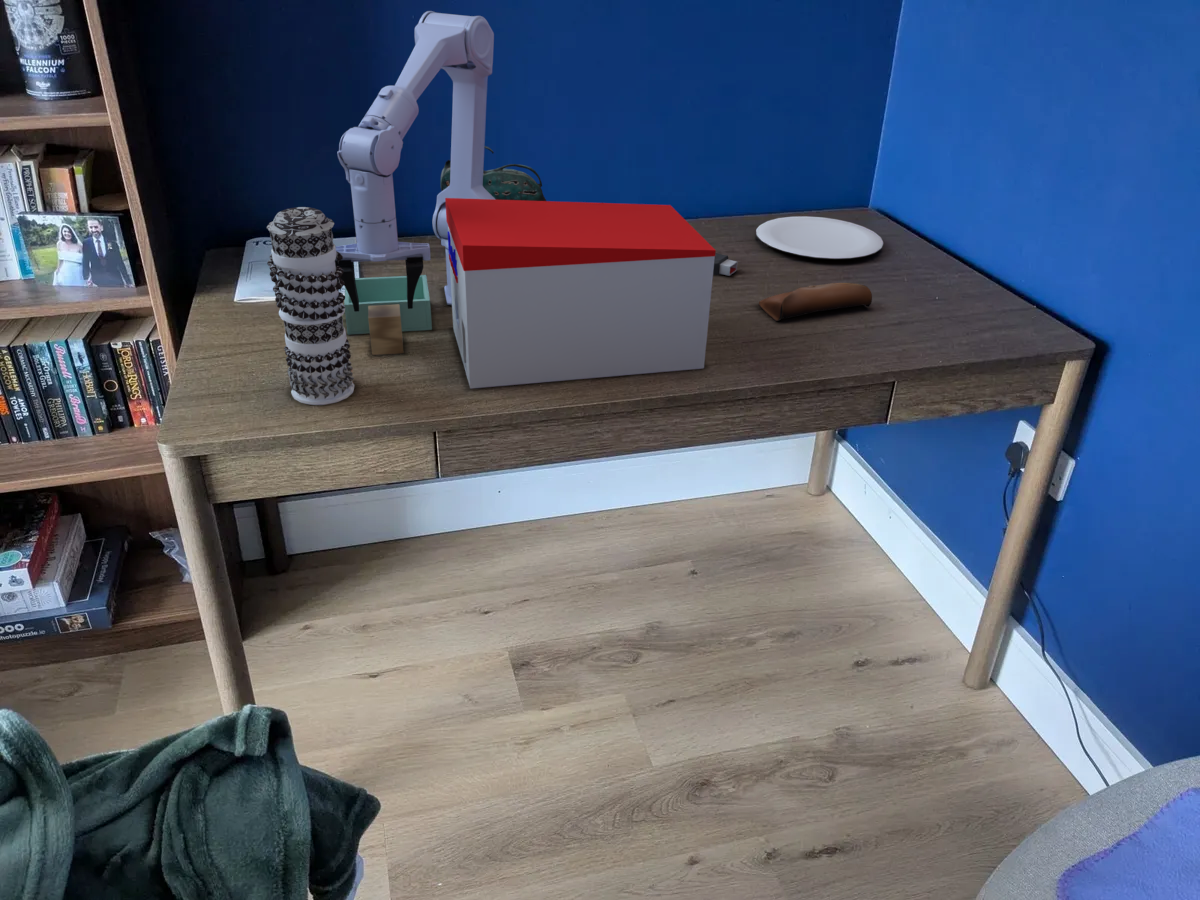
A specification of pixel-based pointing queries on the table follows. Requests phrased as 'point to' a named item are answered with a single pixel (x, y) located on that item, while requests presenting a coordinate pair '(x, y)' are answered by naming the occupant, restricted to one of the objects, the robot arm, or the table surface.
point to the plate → (819, 238)
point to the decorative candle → (311, 305)
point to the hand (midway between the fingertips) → (383, 307)
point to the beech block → (385, 329)
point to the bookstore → (575, 290)
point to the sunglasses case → (816, 299)
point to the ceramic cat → (504, 183)
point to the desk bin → (389, 303)
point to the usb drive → (724, 265)
